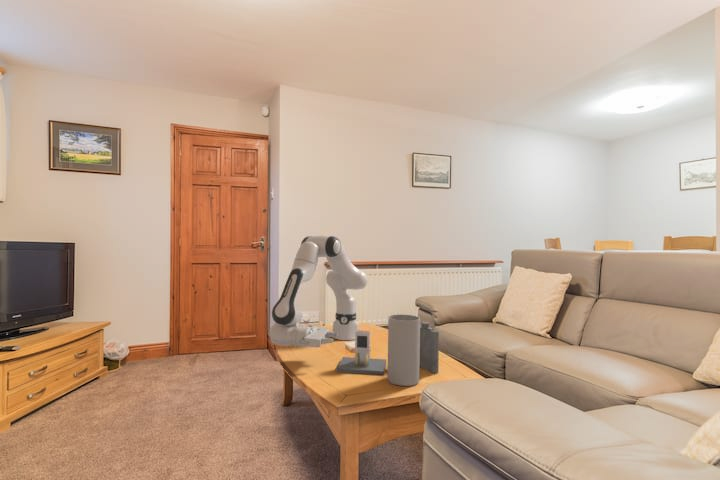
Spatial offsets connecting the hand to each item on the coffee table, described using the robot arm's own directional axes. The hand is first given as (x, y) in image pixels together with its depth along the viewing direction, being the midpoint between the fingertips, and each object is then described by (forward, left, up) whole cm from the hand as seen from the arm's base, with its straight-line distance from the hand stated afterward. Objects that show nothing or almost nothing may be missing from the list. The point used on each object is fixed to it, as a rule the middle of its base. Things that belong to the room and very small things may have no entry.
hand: (335, 337), depth 161 cm
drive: (0, +12, -11) cm, 16 cm away
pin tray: (+1, +12, -12) cm, 17 cm away
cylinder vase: (+14, +30, -12) cm, 36 cm away
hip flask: (-3, +39, -12) cm, 41 cm away
